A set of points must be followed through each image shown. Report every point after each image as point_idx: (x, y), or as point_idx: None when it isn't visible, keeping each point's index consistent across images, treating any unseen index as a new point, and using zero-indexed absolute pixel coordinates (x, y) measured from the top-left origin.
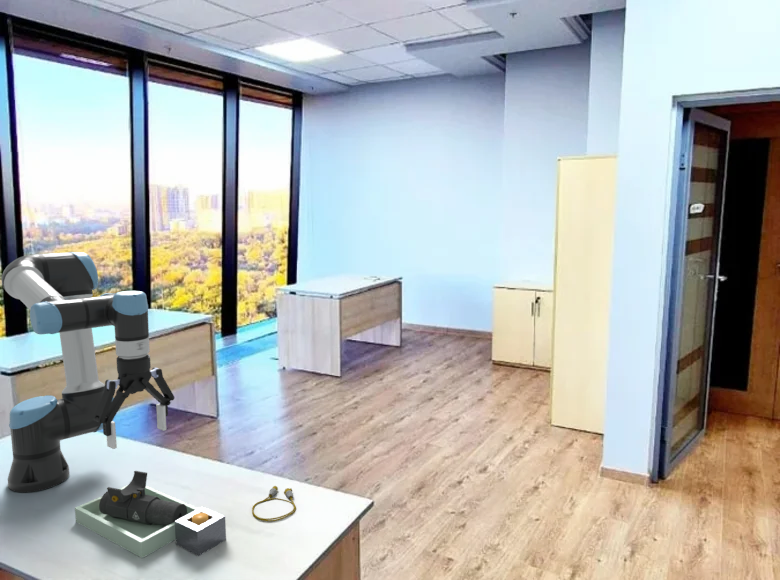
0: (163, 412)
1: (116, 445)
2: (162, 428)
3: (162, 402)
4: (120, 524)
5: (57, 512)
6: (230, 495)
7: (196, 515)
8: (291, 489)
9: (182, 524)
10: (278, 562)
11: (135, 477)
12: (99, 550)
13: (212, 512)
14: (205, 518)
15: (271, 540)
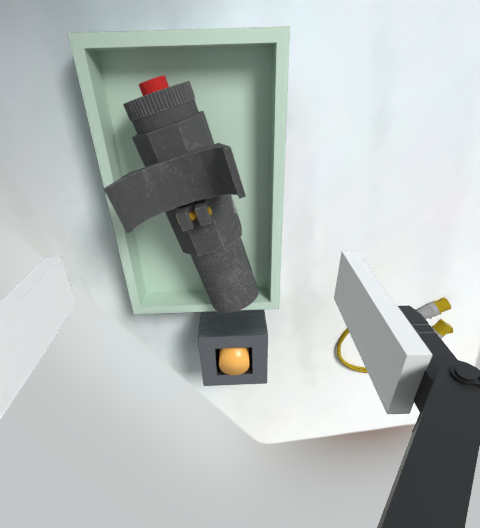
0: (372, 376)
1: (70, 313)
2: (338, 295)
3: (414, 428)
4: None
5: None
6: (390, 248)
7: (232, 357)
8: (451, 331)
9: (200, 354)
10: (264, 422)
11: (222, 156)
12: (92, 216)
13: (262, 361)
14: (236, 374)
15: (299, 391)
